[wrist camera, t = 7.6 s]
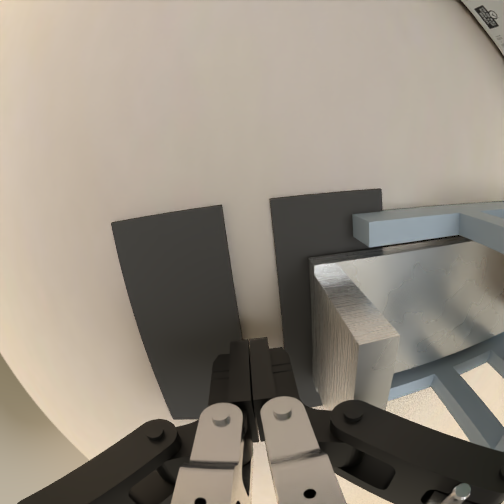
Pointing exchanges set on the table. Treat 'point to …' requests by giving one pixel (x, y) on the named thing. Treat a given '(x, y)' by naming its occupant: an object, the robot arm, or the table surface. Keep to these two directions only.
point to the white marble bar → (399, 312)
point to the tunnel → (450, 367)
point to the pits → (226, 286)
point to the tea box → (489, 18)
